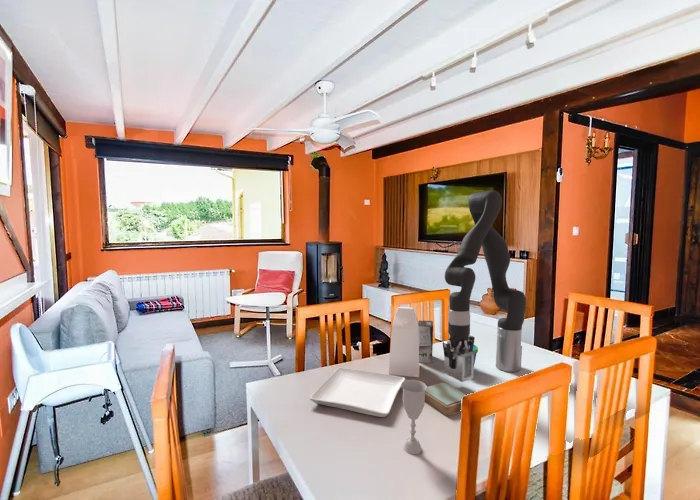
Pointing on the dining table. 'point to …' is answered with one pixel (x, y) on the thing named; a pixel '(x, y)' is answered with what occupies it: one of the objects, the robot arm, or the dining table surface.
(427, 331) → the coffee box
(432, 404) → the wooden tray
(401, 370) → the milk
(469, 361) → the housing
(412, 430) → the chalice
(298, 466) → the dining table surface
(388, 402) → the square plate
